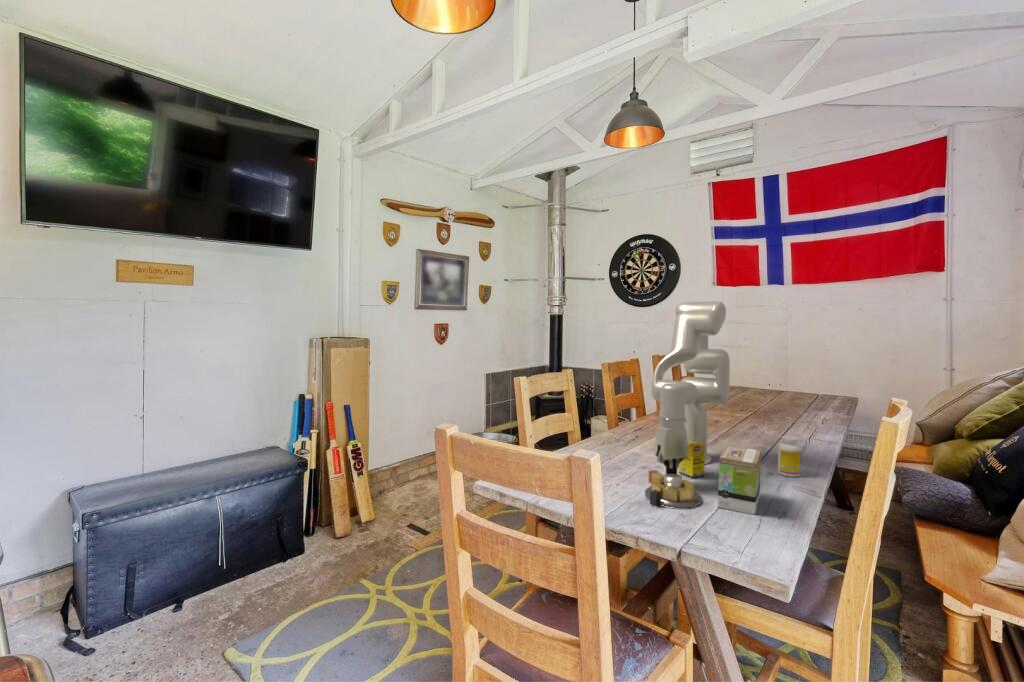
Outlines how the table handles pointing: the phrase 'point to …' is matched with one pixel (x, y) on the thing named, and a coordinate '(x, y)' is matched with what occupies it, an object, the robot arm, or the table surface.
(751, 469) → the tea box
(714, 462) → the table surface
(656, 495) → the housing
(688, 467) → the supplement box
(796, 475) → the supplement bottle
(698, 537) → the table surface
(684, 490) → the tan block cluster
